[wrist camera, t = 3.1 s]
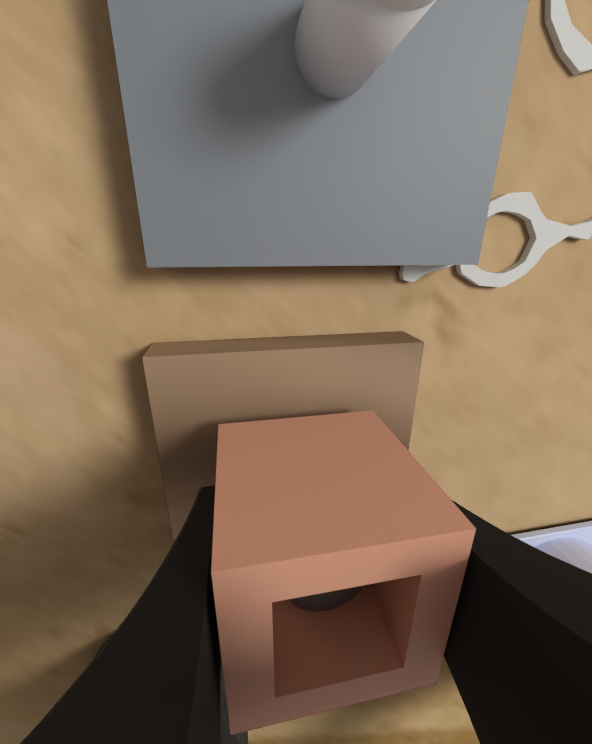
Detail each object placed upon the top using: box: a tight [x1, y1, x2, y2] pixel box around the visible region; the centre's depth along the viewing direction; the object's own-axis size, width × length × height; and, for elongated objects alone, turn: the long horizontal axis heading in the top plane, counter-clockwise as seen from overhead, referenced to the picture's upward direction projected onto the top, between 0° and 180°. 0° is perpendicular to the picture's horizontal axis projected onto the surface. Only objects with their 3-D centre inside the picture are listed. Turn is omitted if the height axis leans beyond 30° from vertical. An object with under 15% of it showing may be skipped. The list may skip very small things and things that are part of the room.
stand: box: [142, 331, 424, 612], centre depth 11 cm, size 9×9×6 cm
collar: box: [211, 410, 476, 735], centre depth 9 cm, size 5×5×5 cm
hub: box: [107, 0, 528, 267], centre depth 7 cm, size 10×10×6 cm
